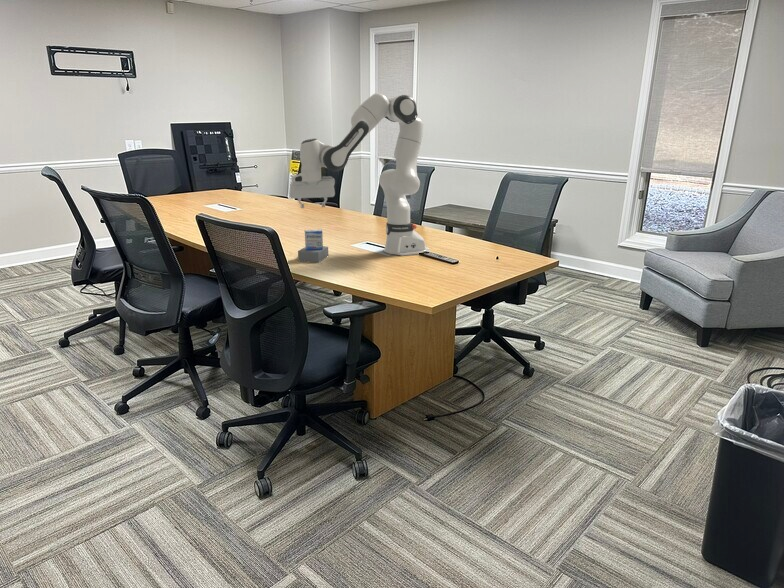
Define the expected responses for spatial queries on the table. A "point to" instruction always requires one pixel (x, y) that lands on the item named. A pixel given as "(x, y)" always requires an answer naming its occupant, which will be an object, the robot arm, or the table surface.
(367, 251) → the table surface
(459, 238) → the table surface
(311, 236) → the medicine box
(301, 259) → the slate block
